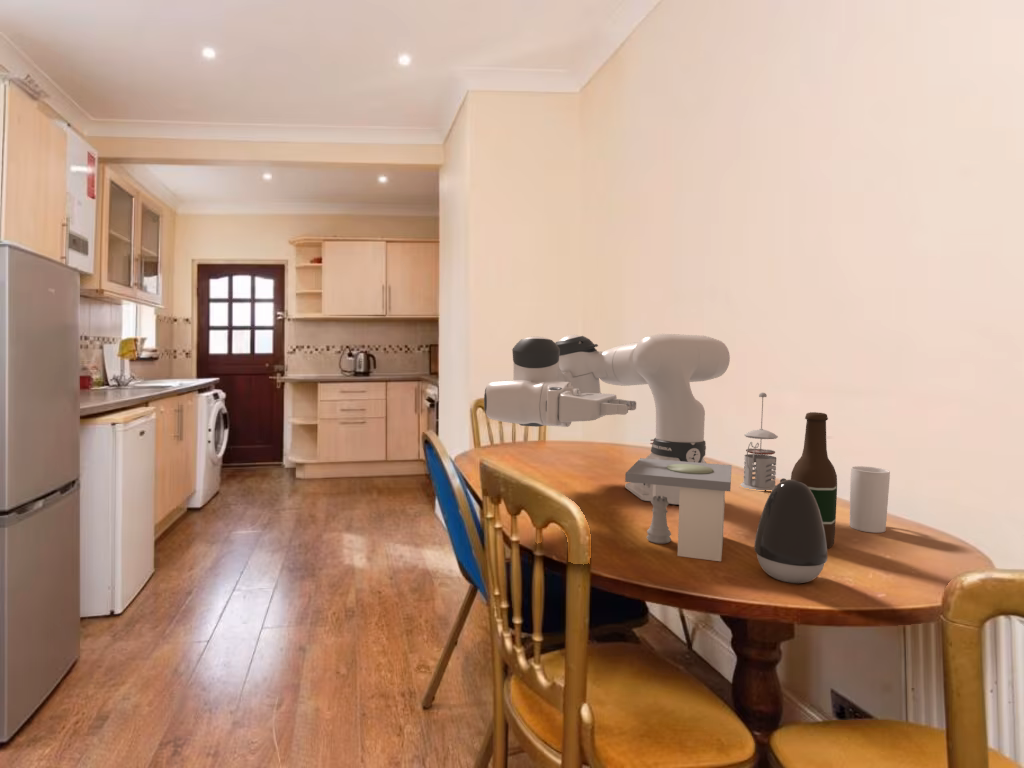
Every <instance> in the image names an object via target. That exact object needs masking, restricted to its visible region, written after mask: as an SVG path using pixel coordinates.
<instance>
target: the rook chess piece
mask: <svg viewBox="0 0 1024 768" xmlns="http://www.w3.org/2000/svg"><path fill="white" fill-rule="evenodd" d="M650 503H651V505H652V509H651V511H652V518H651V524H650V525H649V527H648V529H647V530H646V533H647V536H646V539H647V540H648V542H650V543H652V544H657V545H658V544H659V545H660V544H661V545H665V544H669V543H670V542H671V541H672V538H671V535H672V532H671V531H670V529H669V528H670V527H669V526H668V520H667V513H668V510H667V507H668V506H669V505H670V504H669V502H668V501H667V497H664V496H663V499H662V498H661V496H658V498H657V496H654V497H653V500H652V501H650Z"/></svg>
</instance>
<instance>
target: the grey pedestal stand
mask: <svg viewBox="0 0 1024 768" xmlns="http://www.w3.org/2000/svg"><path fill="white" fill-rule="evenodd" d="M645 458H646V457H645ZM645 458H641V457H640V458H639V459H638V460H637V461H636V462H635V463H634V464H633V465H632V466H631V467H630V468H629V469H628V470H627V471H626V472H625V475H624V476H625V477H624V478H625V480H624V482H625V483H631V482H632V483H643V484H654V485H665V486H676V487H680V496H679V504H678V526H677V527H678V529H677V530H678V531H677V532H678V533H677V555H676V556H677V557H683V558H691V559H699V560H707V561H714V562H722V558H723V557H722V555H723V544H724V529H725V527H724V525H725V523H724V522H725V501H726V499H725V498H726V492H731V486H732V469H733V468H732V467H733V466H732V464H721V463H710V462H709V463H707V462H706V463H697V462H684V461H671V460H658V459H645Z"/></svg>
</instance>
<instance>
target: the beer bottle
mask: <svg viewBox="0 0 1024 768" xmlns="http://www.w3.org/2000/svg"><path fill="white" fill-rule="evenodd" d="M804 420H806V424H805V434H804V441H803V449H802V454H801V457H800V458H798V460H797V462H796V463H795V464H794V466H793V469H792V471H791V474H790V480H798V481H800V482H802V483H804V484H805V485H807V486H808V487H809V489H810V490H811V492H812V493H813V495H814V497H815V499H816V502H817V504H818V507H819V510H820V513H821V517H822V521H823V525H824V530H825V536H826V543H827V550H828V549H830V548H832V546H833V545H834V544H835V538H836V522H837V521H836V520H837V502H838V501H837V495H838V475H837V472H836V469H835V466H834V465H833V463H832V462H831V460H830V459H829V457H828V456H829V455H828V449H827V447H828V446H827V421H828V420H829V417H828V414H827V413H825V412H816V411H814V412H811V411H810V412H807V413H806V414H805V416H804Z"/></svg>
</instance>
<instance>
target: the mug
mask: <svg viewBox="0 0 1024 768" xmlns="http://www.w3.org/2000/svg"><path fill="white" fill-rule="evenodd" d="M890 474H891V471H890V470H888V469H885V468H882V467H881V468H880V467H873V466H862V465H861V466H858V465H857V466H851V467H850V485H849V486H850V487H849V488H850V489H849V490H850V491H849V526H850V528H851V529H854V530H856V531H861V532H866V533H874V534H875V533H876V534H879V533H884V532H886V531H887V530H886V528H887V520H888V519H887V518H888V516H887V515H888V504H889V491H890V479H891V478H890V477H891V475H890Z"/></svg>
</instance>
